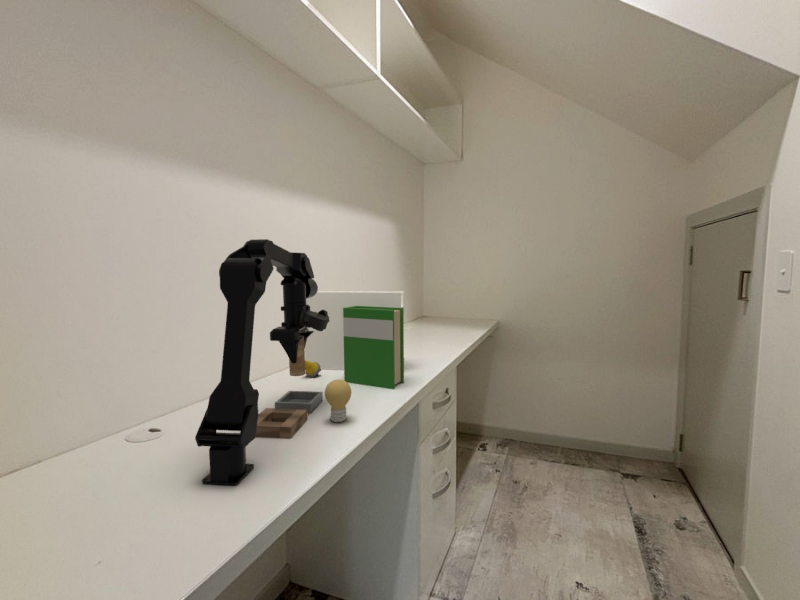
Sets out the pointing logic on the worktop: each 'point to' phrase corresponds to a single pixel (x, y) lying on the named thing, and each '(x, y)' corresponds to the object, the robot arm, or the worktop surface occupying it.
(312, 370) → the ice cream cone
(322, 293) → the white flat rectangular panel
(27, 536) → the worktop surface
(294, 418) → the square wooden frame
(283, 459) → the worktop surface
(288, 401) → the tray
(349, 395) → the light bulb
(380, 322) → the hardback book
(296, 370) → the dowel
